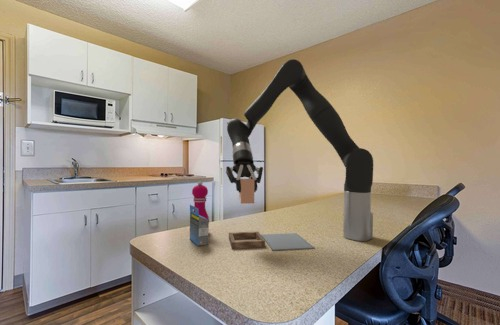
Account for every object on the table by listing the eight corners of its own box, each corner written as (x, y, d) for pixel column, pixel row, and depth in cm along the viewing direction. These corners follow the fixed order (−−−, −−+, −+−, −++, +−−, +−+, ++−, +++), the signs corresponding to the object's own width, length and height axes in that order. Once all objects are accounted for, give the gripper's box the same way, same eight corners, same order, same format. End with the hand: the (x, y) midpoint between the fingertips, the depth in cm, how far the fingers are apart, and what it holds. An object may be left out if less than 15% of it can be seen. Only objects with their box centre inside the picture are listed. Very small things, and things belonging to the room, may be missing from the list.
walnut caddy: (258, 236, 91) (258, 231, 91) (265, 247, 80) (265, 241, 80) (228, 238, 89) (228, 232, 89) (231, 248, 78) (231, 242, 78)
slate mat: (296, 234, 95) (296, 233, 95) (314, 248, 79) (314, 247, 79) (261, 235, 92) (261, 234, 92) (272, 250, 77) (272, 249, 77)
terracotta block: (251, 201, 87) (252, 178, 87) (254, 203, 82) (254, 179, 82) (239, 201, 86) (239, 178, 86) (240, 203, 82) (241, 179, 82)
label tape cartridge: (209, 244, 82) (209, 207, 82) (197, 246, 80) (198, 208, 79) (199, 237, 89) (199, 203, 89) (188, 239, 87) (189, 204, 87)
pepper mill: (212, 231, 96) (213, 181, 96) (199, 236, 90) (200, 182, 90) (199, 228, 100) (199, 180, 100) (185, 233, 94) (186, 181, 94)
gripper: (224, 148, 91) (227, 183, 79) (262, 149, 93) (270, 183, 81) (223, 162, 96) (225, 197, 84) (259, 162, 98) (266, 197, 87)
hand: (247, 190), depth 83 cm, fingers closed on terracotta block, 4 cm apart
